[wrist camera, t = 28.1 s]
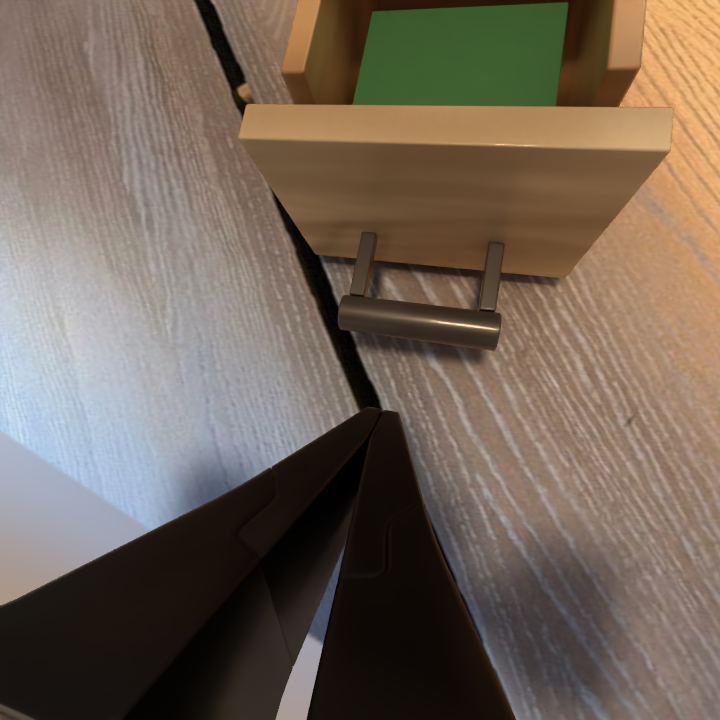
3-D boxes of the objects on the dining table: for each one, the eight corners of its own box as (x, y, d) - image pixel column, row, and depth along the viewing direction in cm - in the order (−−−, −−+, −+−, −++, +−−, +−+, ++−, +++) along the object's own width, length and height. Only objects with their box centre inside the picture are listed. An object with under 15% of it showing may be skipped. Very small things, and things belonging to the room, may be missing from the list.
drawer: (554, 372, 16) (659, 317, 8) (297, 334, 18) (203, 266, 11) (592, 32, 18) (700, -243, 11) (361, 39, 21) (320, -181, 13)
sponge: (527, 190, 17) (555, 115, 13) (368, 181, 18) (349, 113, 14) (539, 98, 17) (569, 0, 13) (385, 97, 19) (372, 10, 15)
